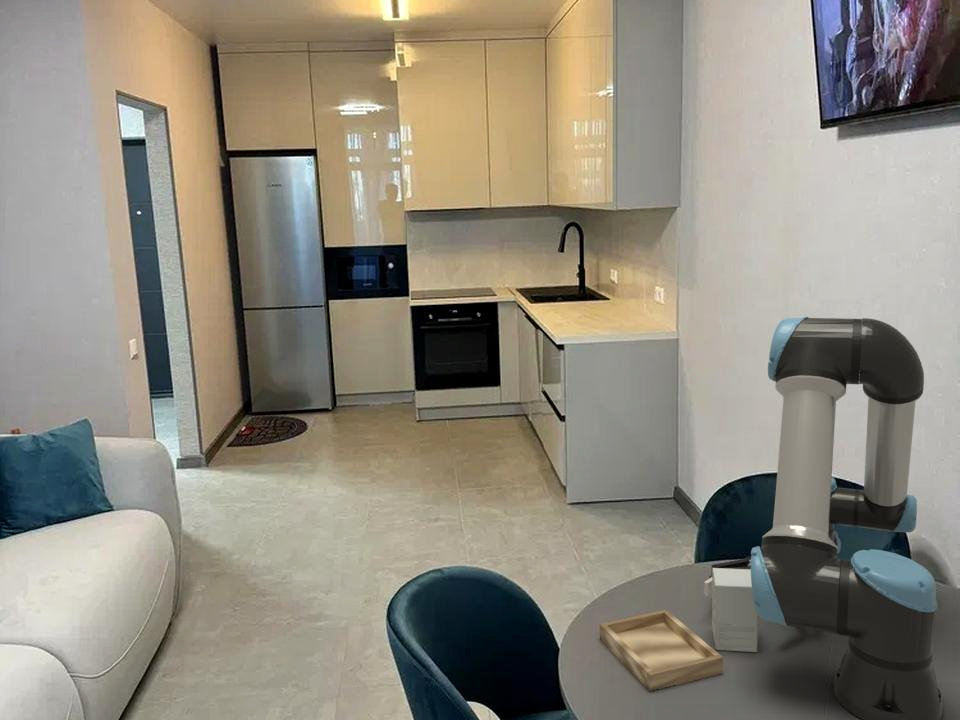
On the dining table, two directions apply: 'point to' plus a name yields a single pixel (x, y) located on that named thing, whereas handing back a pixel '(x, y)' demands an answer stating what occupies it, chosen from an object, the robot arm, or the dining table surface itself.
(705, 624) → the dining table surface
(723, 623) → the supplement box
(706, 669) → the tray
